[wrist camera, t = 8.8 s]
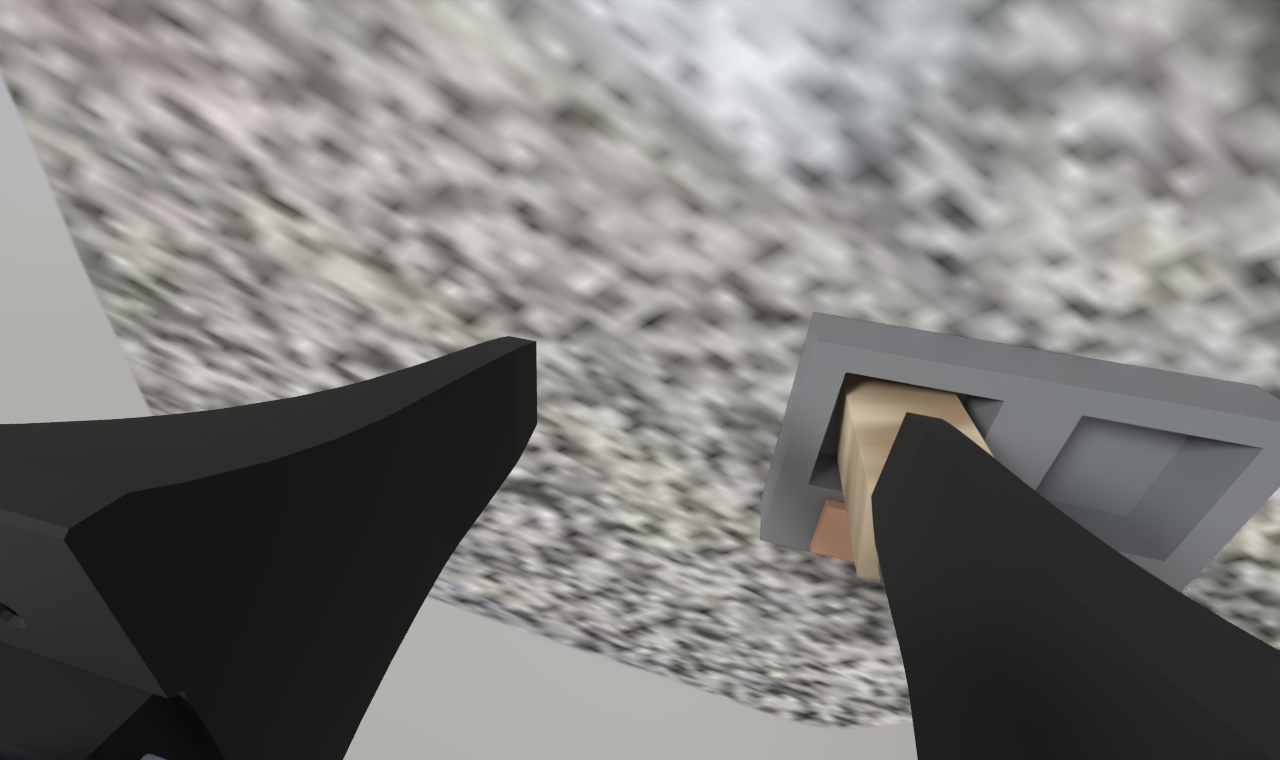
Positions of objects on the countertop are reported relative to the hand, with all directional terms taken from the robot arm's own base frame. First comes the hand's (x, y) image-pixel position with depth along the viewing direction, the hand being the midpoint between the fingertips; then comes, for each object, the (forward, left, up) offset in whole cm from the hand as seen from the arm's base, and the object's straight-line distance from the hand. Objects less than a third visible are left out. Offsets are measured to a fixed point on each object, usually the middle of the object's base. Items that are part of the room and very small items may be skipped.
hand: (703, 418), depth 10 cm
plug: (-7, +4, -10) cm, 12 cm away
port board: (-10, +6, -10) cm, 15 cm away
